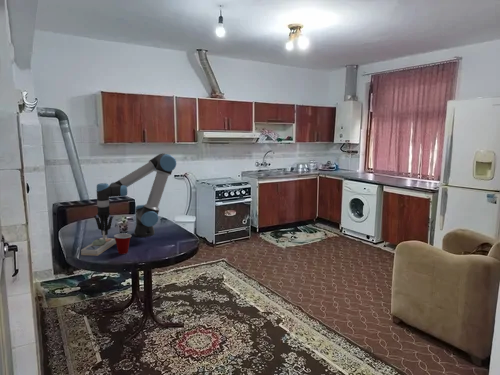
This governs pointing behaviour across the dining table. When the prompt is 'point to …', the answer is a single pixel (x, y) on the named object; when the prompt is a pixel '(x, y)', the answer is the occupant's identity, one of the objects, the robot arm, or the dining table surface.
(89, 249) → the tile three
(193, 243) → the dining table surface
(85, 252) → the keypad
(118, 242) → the plastic cup
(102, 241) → the tile two
